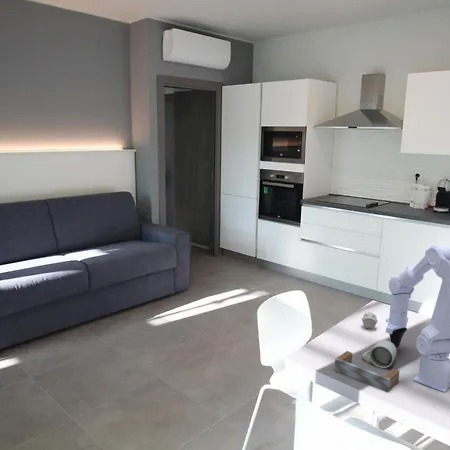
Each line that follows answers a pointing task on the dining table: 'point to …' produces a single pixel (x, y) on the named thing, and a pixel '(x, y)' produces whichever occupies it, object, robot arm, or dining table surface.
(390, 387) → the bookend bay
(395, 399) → the dining table surface
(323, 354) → the dining table surface
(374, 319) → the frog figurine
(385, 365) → the ceramic mug
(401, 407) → the dining table surface
